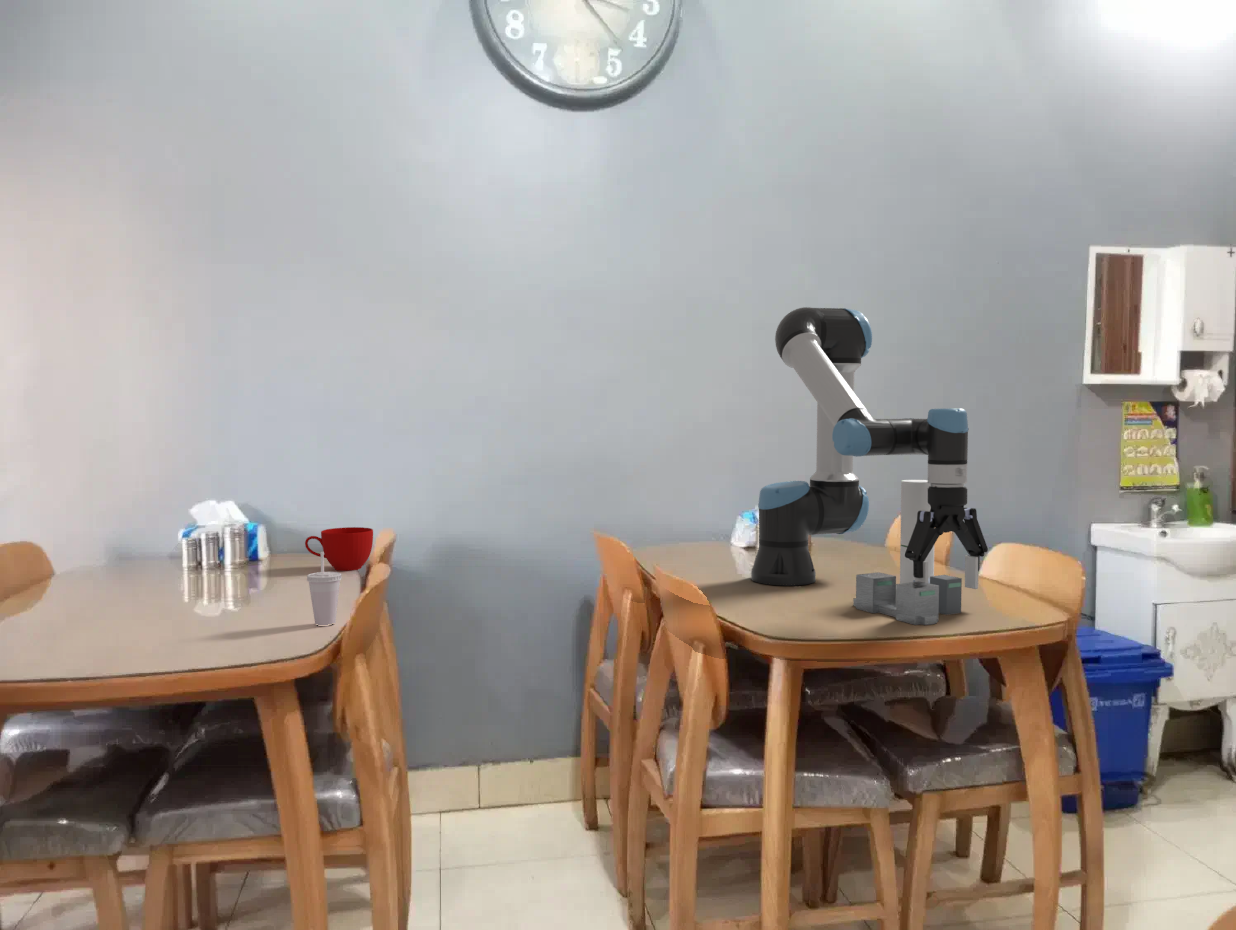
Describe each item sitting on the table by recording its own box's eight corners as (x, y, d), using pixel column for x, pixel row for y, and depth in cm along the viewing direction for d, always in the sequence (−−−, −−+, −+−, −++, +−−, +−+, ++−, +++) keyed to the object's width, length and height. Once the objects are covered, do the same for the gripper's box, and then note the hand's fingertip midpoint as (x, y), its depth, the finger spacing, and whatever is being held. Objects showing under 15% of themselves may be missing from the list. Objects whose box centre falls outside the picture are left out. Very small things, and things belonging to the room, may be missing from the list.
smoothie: (330, 619, 184) (328, 548, 183) (349, 623, 180) (348, 551, 179) (301, 624, 179) (299, 552, 178) (320, 629, 175) (318, 555, 174)
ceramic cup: (306, 566, 245) (305, 529, 245) (372, 563, 250) (371, 526, 250) (305, 575, 233) (304, 535, 232) (375, 571, 238) (374, 532, 237)
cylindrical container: (935, 597, 202) (937, 482, 200) (901, 596, 203) (902, 482, 202) (931, 591, 209) (933, 479, 207) (898, 590, 210) (899, 479, 209)
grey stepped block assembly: (847, 606, 194) (848, 572, 193) (870, 603, 196) (870, 570, 196) (918, 626, 176) (919, 589, 175) (942, 622, 178) (942, 586, 178)
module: (929, 610, 189) (930, 576, 189) (944, 608, 191) (944, 574, 191) (947, 615, 185) (947, 580, 185) (961, 612, 187) (962, 578, 187)
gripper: (914, 489, 178) (913, 599, 179) (1006, 484, 189) (1006, 588, 190) (886, 486, 184) (886, 593, 185) (977, 482, 196) (976, 582, 197)
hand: (946, 591), depth 188 cm, fingers open, 13 cm apart
